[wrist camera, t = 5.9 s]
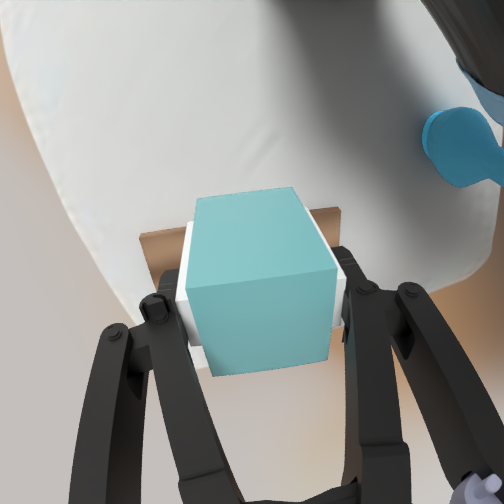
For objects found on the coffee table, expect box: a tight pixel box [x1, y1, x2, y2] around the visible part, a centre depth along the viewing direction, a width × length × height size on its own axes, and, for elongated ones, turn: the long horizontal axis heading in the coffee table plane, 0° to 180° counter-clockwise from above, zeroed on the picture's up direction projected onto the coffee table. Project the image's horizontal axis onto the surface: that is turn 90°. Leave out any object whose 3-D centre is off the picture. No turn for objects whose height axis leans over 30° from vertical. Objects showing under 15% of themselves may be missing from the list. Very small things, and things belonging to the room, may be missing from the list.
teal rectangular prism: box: [185, 187, 338, 377], centre depth 15 cm, size 5×5×8 cm
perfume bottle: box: [422, 107, 504, 187], centre depth 24 cm, size 9×9×15 cm
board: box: [139, 207, 341, 291], centre depth 36 cm, size 12×22×1 cm, turn 96°
